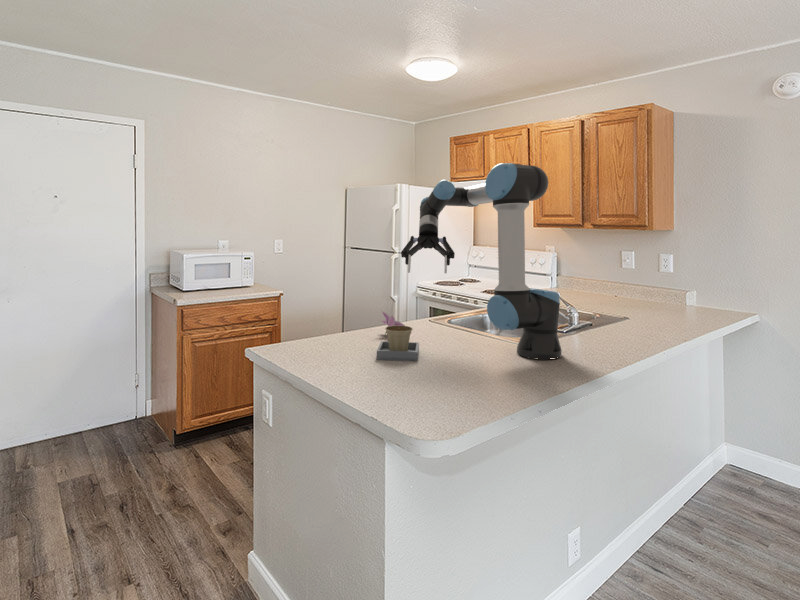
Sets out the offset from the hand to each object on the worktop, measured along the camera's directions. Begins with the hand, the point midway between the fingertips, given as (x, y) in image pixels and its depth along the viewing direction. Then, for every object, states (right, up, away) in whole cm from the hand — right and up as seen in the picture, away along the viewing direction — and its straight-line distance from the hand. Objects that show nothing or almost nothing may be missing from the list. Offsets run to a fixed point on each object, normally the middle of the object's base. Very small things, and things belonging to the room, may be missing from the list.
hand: (427, 270), depth 187 cm
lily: (-13, -25, +17) cm, 33 cm away
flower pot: (-11, -29, -13) cm, 34 cm away
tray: (-11, -30, -13) cm, 34 cm away
